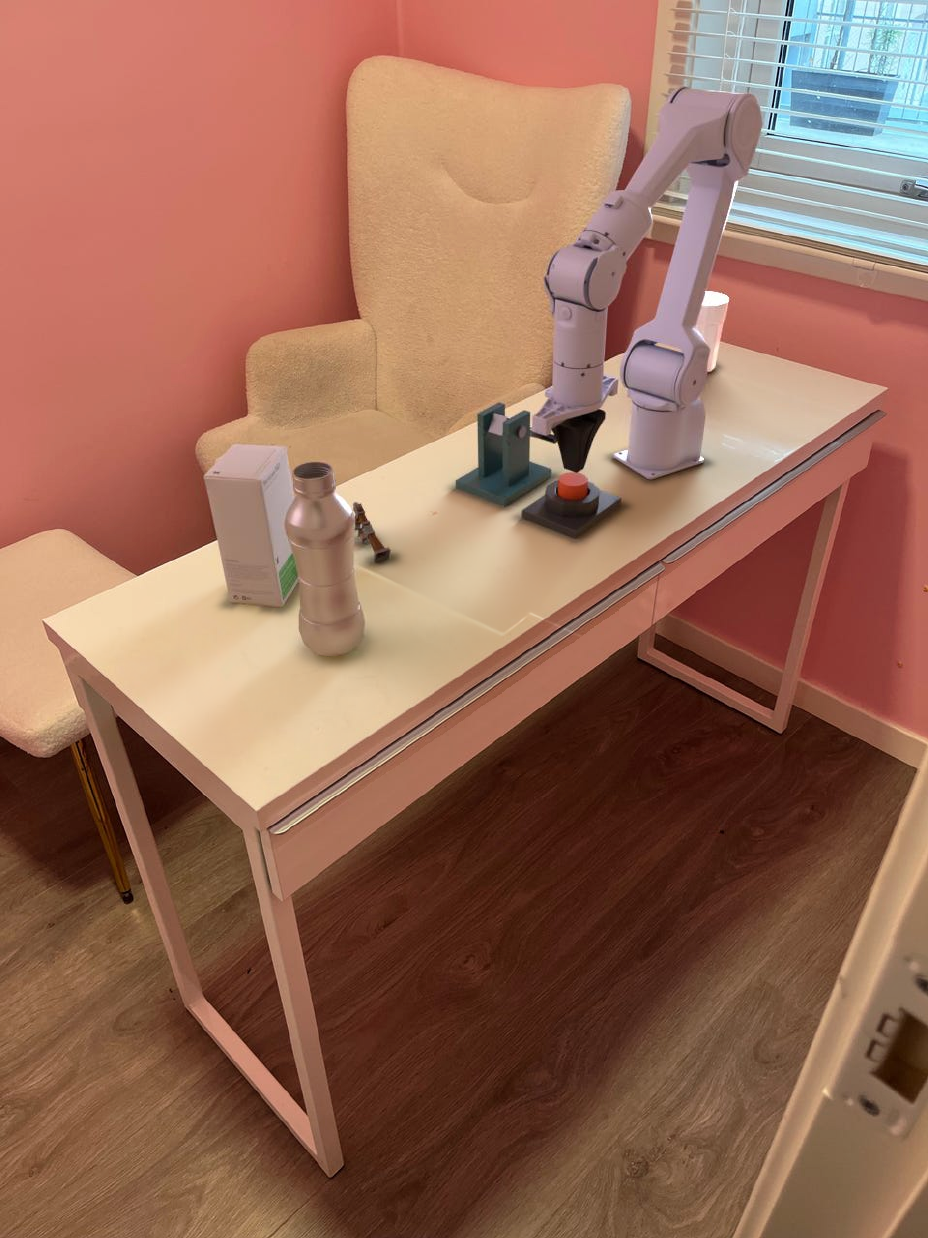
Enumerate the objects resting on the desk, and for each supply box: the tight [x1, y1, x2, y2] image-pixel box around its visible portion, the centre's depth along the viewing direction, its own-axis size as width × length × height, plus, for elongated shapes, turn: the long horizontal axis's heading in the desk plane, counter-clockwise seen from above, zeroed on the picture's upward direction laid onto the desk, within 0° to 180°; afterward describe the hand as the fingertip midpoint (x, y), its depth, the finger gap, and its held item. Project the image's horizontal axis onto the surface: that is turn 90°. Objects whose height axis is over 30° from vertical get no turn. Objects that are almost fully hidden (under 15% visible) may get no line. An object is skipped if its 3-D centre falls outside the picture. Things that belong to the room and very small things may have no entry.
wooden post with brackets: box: [352, 501, 391, 563], centre depth 114 cm, size 2×8×4 cm, turn 29°
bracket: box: [455, 401, 552, 507], centre depth 124 cm, size 10×8×10 cm
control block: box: [521, 479, 622, 540], centre depth 119 cm, size 10×8×3 cm
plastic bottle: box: [284, 461, 366, 657], centre depth 94 cm, size 6×7×20 cm
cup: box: [696, 290, 730, 373], centre depth 153 cm, size 7×7×11 cm
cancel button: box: [557, 471, 589, 500], centre depth 118 cm, size 4×4×2 cm
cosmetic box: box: [203, 443, 299, 608], centre depth 104 cm, size 8×7×16 cm
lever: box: [488, 413, 558, 445], centre depth 125 cm, size 11×5×2 cm, turn 140°
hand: (573, 468), depth 117 cm, fingers closed
